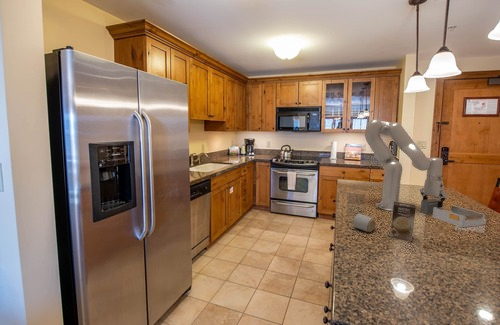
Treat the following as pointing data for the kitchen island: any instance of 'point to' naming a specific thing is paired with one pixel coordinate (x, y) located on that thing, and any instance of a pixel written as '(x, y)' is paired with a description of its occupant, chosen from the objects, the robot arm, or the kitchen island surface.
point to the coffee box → (402, 221)
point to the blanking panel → (428, 206)
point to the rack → (459, 216)
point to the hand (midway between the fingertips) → (432, 205)
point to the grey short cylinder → (364, 223)
